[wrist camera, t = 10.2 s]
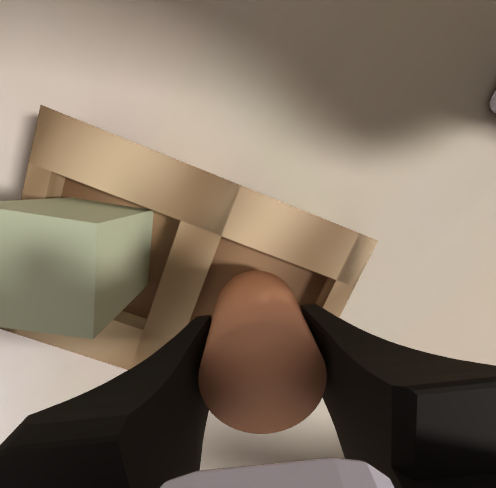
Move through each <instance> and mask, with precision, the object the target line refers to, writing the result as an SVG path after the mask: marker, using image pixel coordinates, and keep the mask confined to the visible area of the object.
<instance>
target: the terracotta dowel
mask: <svg viewBox="0 0 496 488" xmlns="http://www.w3.org/2000/svg"><path fill="white" fill-rule="evenodd" d="M326 381H327V373H326V366H325V362H324V359H323V357H322V355H321V353H320V350H319V348H318V346H317V344H316V342H315V340H314V338H313V335H312V333H311V331H310V329H309V327H308V325H307V322H306V320H305V318H304V316H303V314H302V312H301V310H300V307H299V305H298V303H297V301H296V299H295V297H294V295H293V292H292V290H291V289H290V287H289V286H288V285H287V283H286V282H285V281H283V280H282V279H281V278H280V277H278V276H276V275H274V274H272V273H269V272H265V271H247V272H244V273H241V274H239V275H236V276H235V277H233V278H232V279H230V280H229V281H228V282H227V283H226V284H225V285H224V287H223V288H222V289H221V291H220V293H219V296H218V298H217V302H216V306H215V310H214V314H213V318H212V322H211V325H210V329H209V333H208V337H207V341H206V345H205V349H204V352H203V356H202V360H201V364H200V368H199V376H198V382H199V389H200V393H201V396H202V398H203V401H204V403H205V404H206V406H207V408H208V409H209V410H210V411H211V413H212V414H213V415H214V416H215V417H216V418H218V419H219V420H220V421H222V422H223V423H225V424H226V425H228V426H230V427H232V428H234V429H237V430H240V431H243V432H248V433H256V434H267V433H275V432H279V431H283V430H286V429H288V428H291V427H293V426H295V425H297V424H299V423H300V422H301V421H303V420H304V419H306V418H307V417H308V416H309V415H310V414H311V413H312V412H313V411H314V410H315V408H316V407H317V405H318V404H319V402H320V401H321V399H322V396H323V394H324V391H325V387H326Z"/></svg>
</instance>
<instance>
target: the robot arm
mask: <svg viewBox="0 0 496 488" xmlns="http://www.w3.org/2000/svg"><path fill="white" fill-rule="evenodd" d="M490 108H491V110H492V111H493V112H495V113H496V90H495V92H494V94H493V96H492V98H491V101H490ZM301 312H302V314H303V316H304V318H305V320H306V322H307V325H308V327H309V329H310V331H311V333H312V335H313V338H314V340H315V342H316V344H317V346H318V348H319V350H320V353H321V355H322V357H323V359H324V362H325V366H326V373H327V381H326V387H325V391H324V394H323V396H322V397H323V399H324V402H325V404H326V406H327V409H328V411H329V413H330V416H331V418H332V421H333V423H334V426H335V429H336V432H337V435H338V438H339V441H340V444H341V447H342V450H343V453H344V457H345V459H342V458H333V457H331V458H321V459H311V460H302V461H292V462H282V463H272V464H262V465H252V466H242V467H232V468H222V469H212V470H202V471H199V470H200V461H201V452H202V444H203V437H204V431H205V426H206V421H207V416H208V412H209V409H208V408H207V406H206V404H205V403H204V401H203V398H202V396H201V393H200V389H199V382H198V376H199V368H200V364H201V360H202V356H203V352H204V349H205V345H206V341H207V337H208V333H209V329H210V325H211V322H212V318H211V315H203V316H197V317H196V318H194V319H193V320H192V321H191V322H190V323H189V324H188V325H187V326H185V327H184V328H183V329H182V330H181V331H180V332H179V333H178V334H177V335H176V336H174V337H173V338H172V339H171V340H170V341H168V342H167V343H166V344H165V345H164V346H162V347H161V348H160V349H159V350H157V351H156V352H155V353H153V354H152V355H151V356H149V357H148V358H147V359H145V360H144V361H142V362H141V363H139V364H137V365H136V366H134V367H133V368H131V369H129V370H128V371H126V372H124V373H122V374H121V375H119V376H117V377H115V378H114V379H112V380H110V381H108V382H106V383H104V384H102V385H100V386H98V387H96V388H94V389H92V390H90V391H88V392H86V393H84V394H81V395H79V396H77V397H75V398H72V399H70V400H68V401H65V402H62V403H60V404H57V405H55V406H52V407H50V408H47V409H44V410H42V411H39V412H37V413H34V414H31V415H28V416H27V417H26V418H25V419H24V421H23V422H22V423H21V424H20V425H19V426H18V427H17V428H16V429H15V430H14V431H13V432H12V433H11V434H10V435H9V436H8V437H7V439H6V440H5V441H4V442H3V443H2V444H1V445H0V488H496V366H494V365H488V364H481V363H475V362H469V361H463V360H457V359H452V358H447V357H443V356H438V355H434V354H430V353H426V352H422V351H418V350H415V349H411V348H408V347H405V346H402V345H398V344H395V343H393V342H390V341H387V340H384V339H382V338H379V337H377V336H374V335H372V334H370V333H367V332H365V331H363V330H361V329H359V328H357V327H355V326H353V325H351V324H349V323H347V322H346V321H344V320H342V319H340V318H338V317H337V316H335V315H333V314H332V313H330V312H328V311H327V310H325V309H324V308H322V307H320V306H319V305H317V304H305V305H301Z"/></svg>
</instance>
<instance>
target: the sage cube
mask: <svg viewBox="0 0 496 488" xmlns="http://www.w3.org/2000/svg"><path fill="white" fill-rule="evenodd" d="M153 213H154V210H150V209H144V208H137V207H131V206H125V205H118V204H112V203H105V202H99V201H92V200H86V199H79V198H73V197H68V198H49V199H30V200H11V201H0V327H2V328H10V329H18V330H25V331H33V332H40V333H48V334H56V335H63V336H71V337H78V338H86V339H94V338H95V337H96V336H97V335H98V334H99V333H100V332H101V331H102V330H103V329H104V328H105V327H106V326H107V325H108V324H109V323H110V322H111V321H112V320H113V319H114V318H115V317H116V316H117V315H118V314H119V313H120V312H121V311H122V310H123V309H124V308H125V307H126V306H127V305H128V304H129V303H130V302H131V301H132V300H133V299H134V298H135V297H136V296H137V295H138V294H139V293H140V292H141V291H142V290H143V289H144V288H145V287H146V286H147V285H148V275H149V263H150V250H151V238H152V225H153Z"/></svg>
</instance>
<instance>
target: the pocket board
mask: <svg viewBox="0 0 496 488" xmlns="http://www.w3.org/2000/svg"><path fill="white" fill-rule="evenodd" d="M68 197H73V198H79V199H86V200H92V201H99V202H105V203H112V204H118V205H125V206H131V207H137V208H144V209H150V210H154V213H153V225H152V238H151V250H150V263H149V275H148V285H147V286H146V287H145V288H144V289H143V290H142V291H141V292H140V293H139V294H138V295H137V296H136V297H135V298H134V299H133V300H132V301H131V302H130V303H129V304H128V305H127V306H126V307H125V308H124V309H123V310H122V311H121V312H120V313H119V314H118V315H117V316H116V317H115V318H114V319H113V320H112V321H111V322H110V323H109V324H108V325H107V326H106V327H105V328H104V329H103V330H102V331H101V332H100V333H99V334H98V335H97V336H96V337H95V338H94V339H86V338H78V337H71V336H63V335H56V334H48V333H40V332H33V331H25V330H18V329H10V328H2V327H0V329H3V330H6V331H9V332H12V333H15V334H18V335H21V336H24V337H27V338H31V339H34V340H37V341H40V342H43V343H46V344H49V345H52V346H55V347H59V348H62V349H65V350H68V351H71V352H74V353H77V354H80V355H83V356H87V357H90V358H93V359H96V360H99V361H102V362H105V363H108V364H111V365H115V366H118V367H121V368H124V369H127V370H129V369H131V368H133V367H134V366H136V365H137V364H139V363H141V362H142V361H144V360H145V359H147V358H148V357H149V356H151V355H152V354H153V353H155V352H156V351H157V350H159V349H160V348H161V347H162V346H164V345H165V344H166V343H167V342H168V341H170V340H171V339H172V338H173V337H174V336H176V335H177V334H178V333H179V332H180V331H181V330H182V329H183V328H184V327H185V326H187V325H188V324H189V323H190V322H191V321H192V320H193V319H194V318H196V317H197V316H203V315H211V318H213V314H214V310H215V306H216V302H217V298H218V296H219V293H220V291H221V289H222V288H223V287H224V285H225V284H226V283H227V282H228V281H229V280H230V279H232V278H233V277H235V276H236V275H239V274H241V273H244V272H247V271H265V272H269V273H272V274H274V275H276V276H278V277H280V278H281V279H282V280H283V281H285V282H286V283H287V285H288V286H289V287H290V289H291V290H292V292H293V295H294V297H295V299H296V301H297V303H298V305H299V307H300V310H301V305H305V304H317V305H319V306H320V307H322V308H324V309H325V310H327V311H328V312H330V313H332V314H333V315H335V316H337V317H338V318H339V317H340V315H341V313H342V311H343V309H344V307H345V305H346V303H347V301H348V299H349V297H350V295H351V293H352V291H353V289H354V287H355V285H356V283H357V281H358V279H359V277H360V275H361V273H362V271H363V269H364V267H365V265H366V264H367V262H368V260H369V258H370V256H371V254H372V252H373V250H374V248H375V246H376V244H377V242H378V241H377V240H375V239H372V238H370V237H367V236H365V235H362V234H360V233H357V232H355V231H352V230H350V229H347V228H345V227H343V226H340V225H338V224H335V223H333V222H330V221H328V220H325V219H323V218H320V217H318V216H315V215H313V214H310V213H308V212H305V211H303V210H300V209H298V208H295V207H293V206H290V205H288V204H285V203H283V202H281V201H278V200H276V199H273V198H271V197H268V196H266V195H263V194H261V193H258V192H256V191H253V190H251V189H248V188H246V187H243V186H241V185H238V184H236V183H233V182H231V181H228V180H226V179H223V178H221V177H218V176H216V175H214V174H211V173H209V172H206V171H204V170H201V169H199V168H196V167H194V166H191V165H189V164H186V163H184V162H181V161H179V160H176V159H174V158H171V157H169V156H166V155H164V154H161V153H159V152H156V151H154V150H152V149H149V148H147V147H144V146H142V145H139V144H137V143H134V142H132V141H129V140H127V139H124V138H122V137H119V136H117V135H114V134H112V133H109V132H107V131H104V130H102V129H99V128H97V127H94V126H92V125H90V124H87V123H85V122H82V121H80V120H77V119H75V118H72V117H70V116H67V115H65V114H62V113H60V112H57V111H55V110H52V109H50V108H47V107H45V106H42V105H41V106H40V110H39V115H38V120H37V125H36V130H35V134H34V139H33V144H32V149H31V154H30V158H29V163H28V168H27V173H26V178H25V183H24V187H23V192H22V197H21V200H30V199H49V198H68Z"/></svg>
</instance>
